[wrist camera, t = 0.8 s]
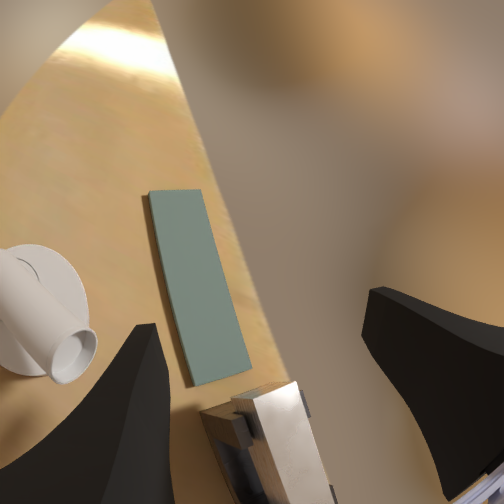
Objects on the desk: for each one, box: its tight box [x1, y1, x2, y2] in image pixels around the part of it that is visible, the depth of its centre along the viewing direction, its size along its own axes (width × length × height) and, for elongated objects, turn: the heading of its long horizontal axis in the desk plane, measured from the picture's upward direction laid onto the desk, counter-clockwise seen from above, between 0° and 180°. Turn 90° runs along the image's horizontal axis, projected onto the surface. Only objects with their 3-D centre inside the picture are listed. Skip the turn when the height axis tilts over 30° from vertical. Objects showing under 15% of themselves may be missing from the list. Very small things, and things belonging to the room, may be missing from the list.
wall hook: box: [0, 244, 97, 384], centre depth 13 cm, size 9×10×10 cm
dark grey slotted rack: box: [200, 390, 338, 504], centre depth 17 cm, size 10×5×6 cm, turn 20°
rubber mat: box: [148, 189, 252, 386], centre depth 23 cm, size 16×5×1 cm, turn 20°
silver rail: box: [230, 381, 335, 504], centre depth 15 cm, size 12×3×3 cm, turn 20°
